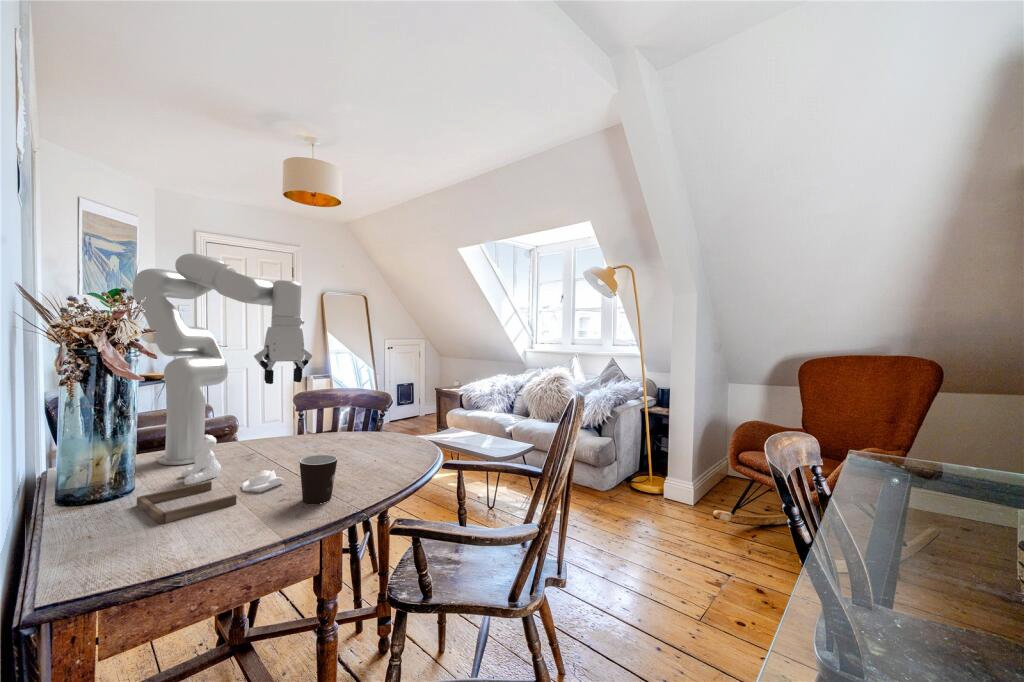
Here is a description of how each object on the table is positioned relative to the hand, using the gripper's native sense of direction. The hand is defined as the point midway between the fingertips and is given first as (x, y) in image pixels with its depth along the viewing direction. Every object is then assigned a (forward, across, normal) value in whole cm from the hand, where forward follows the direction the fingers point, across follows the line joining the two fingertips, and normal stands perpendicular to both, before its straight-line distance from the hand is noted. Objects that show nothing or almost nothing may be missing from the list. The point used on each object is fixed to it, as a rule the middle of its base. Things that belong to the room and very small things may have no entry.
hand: (283, 382), depth 126 cm
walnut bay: (+26, +26, +10) cm, 38 cm away
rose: (+26, +9, +10) cm, 30 cm away
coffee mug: (+26, +4, +28) cm, 39 cm away
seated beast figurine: (+26, +17, -8) cm, 32 cm away
